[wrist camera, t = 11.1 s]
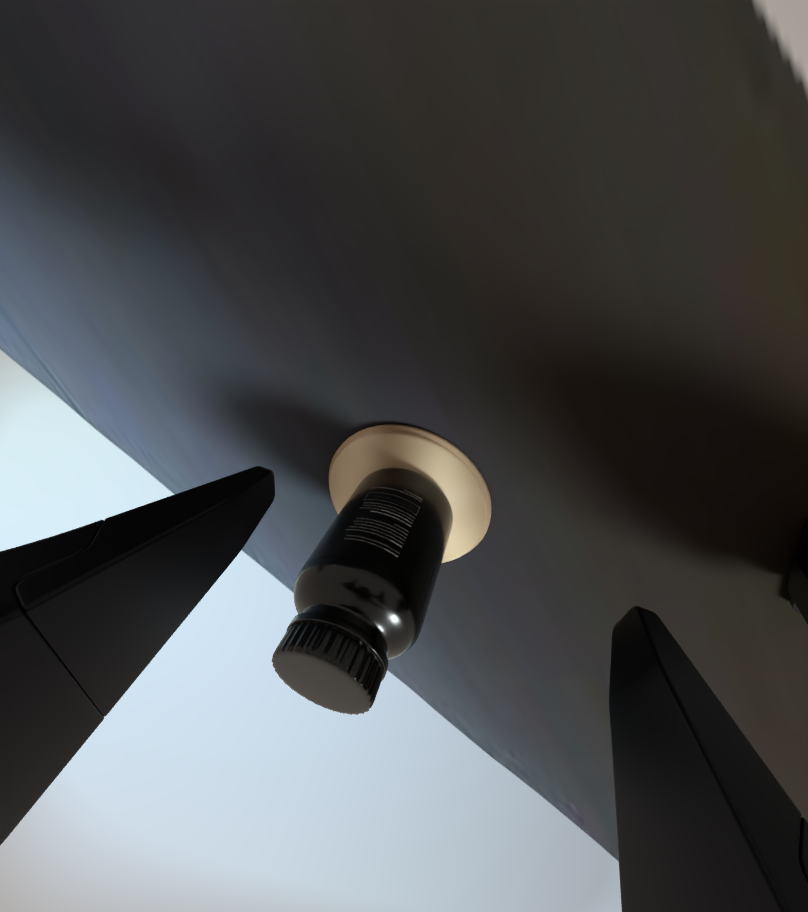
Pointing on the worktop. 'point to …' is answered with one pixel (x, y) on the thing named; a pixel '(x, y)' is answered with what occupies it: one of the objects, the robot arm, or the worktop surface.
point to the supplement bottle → (365, 590)
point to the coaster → (426, 458)
